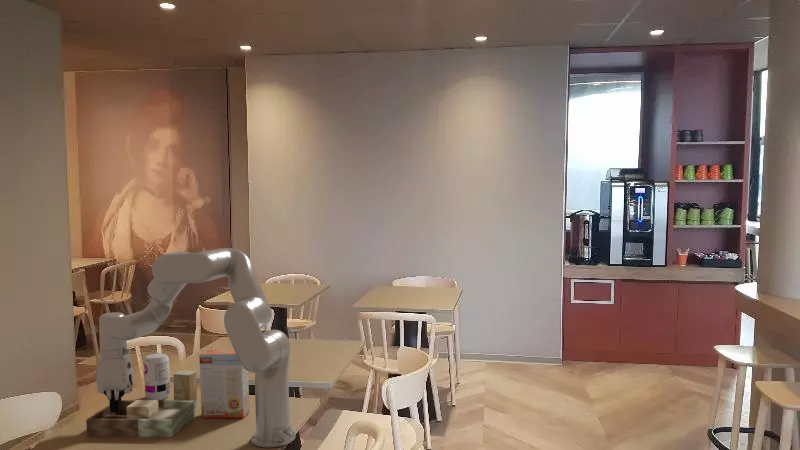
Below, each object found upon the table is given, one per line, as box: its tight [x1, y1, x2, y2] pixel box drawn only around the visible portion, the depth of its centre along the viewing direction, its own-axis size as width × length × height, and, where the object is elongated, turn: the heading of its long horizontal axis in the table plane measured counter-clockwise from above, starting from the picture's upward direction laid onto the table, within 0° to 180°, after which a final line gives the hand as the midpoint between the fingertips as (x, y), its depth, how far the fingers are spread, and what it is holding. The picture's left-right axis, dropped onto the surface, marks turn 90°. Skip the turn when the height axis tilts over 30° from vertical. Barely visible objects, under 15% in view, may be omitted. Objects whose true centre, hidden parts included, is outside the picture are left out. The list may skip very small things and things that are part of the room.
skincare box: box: [173, 370, 198, 408], centre depth 200 cm, size 6×4×12 cm
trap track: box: [85, 399, 197, 438], centre depth 185 cm, size 26×17×5 cm, turn 85°
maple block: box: [127, 399, 159, 419], centre depth 185 cm, size 7×6×4 cm
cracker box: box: [199, 349, 250, 419], centre depth 192 cm, size 14×6×21 cm, turn 84°
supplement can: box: [143, 352, 171, 400], centre depth 211 cm, size 8×8×15 cm
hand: (115, 411), depth 186 cm, fingers closed
